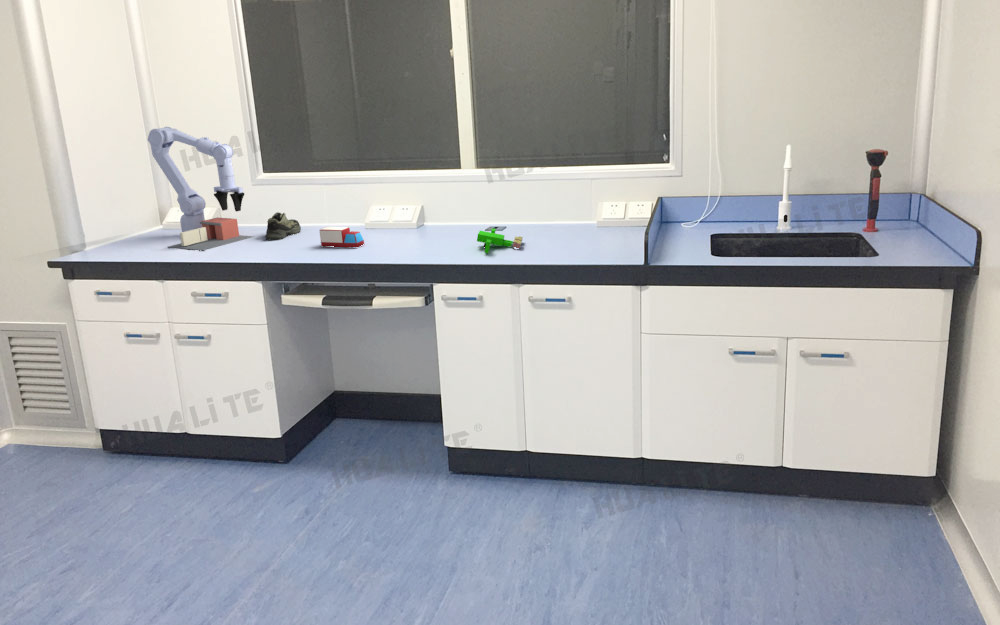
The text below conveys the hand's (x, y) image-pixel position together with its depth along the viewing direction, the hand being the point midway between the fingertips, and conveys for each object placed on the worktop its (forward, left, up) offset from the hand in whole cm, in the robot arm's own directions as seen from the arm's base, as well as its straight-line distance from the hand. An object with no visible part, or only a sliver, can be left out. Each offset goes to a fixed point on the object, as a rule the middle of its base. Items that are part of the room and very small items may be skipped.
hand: (231, 210), depth 324 cm
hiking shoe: (+20, +7, -10) cm, 24 cm away
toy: (+114, +14, -11) cm, 116 cm away
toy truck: (+58, -2, -10) cm, 59 cm away
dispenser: (-1, -6, -10) cm, 11 cm away
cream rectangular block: (-1, -19, -9) cm, 21 cm away
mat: (+2, -13, -10) cm, 17 cm away
